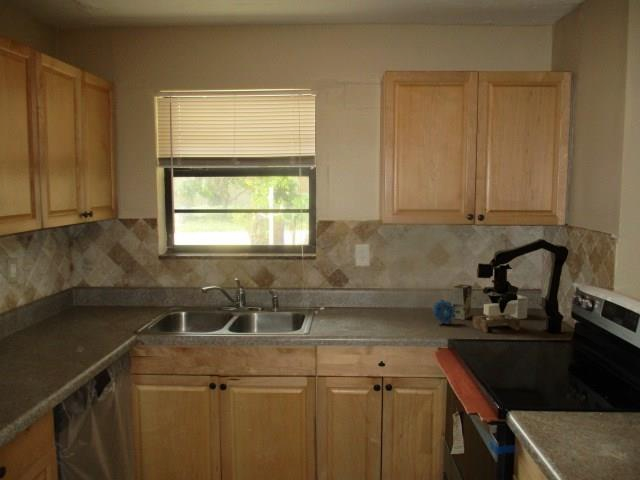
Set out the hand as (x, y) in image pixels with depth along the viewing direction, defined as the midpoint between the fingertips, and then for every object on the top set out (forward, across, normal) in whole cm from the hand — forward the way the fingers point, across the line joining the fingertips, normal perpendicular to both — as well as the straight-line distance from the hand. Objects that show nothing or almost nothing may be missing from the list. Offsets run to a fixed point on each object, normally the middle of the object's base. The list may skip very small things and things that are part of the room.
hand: (499, 312), depth 242 cm
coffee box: (+8, +24, +5) cm, 26 cm away
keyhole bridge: (+8, +2, 0) cm, 9 cm away
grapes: (+8, +14, +20) cm, 26 cm away
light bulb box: (+8, +19, -22) cm, 30 cm away
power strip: (+3, 0, 0) cm, 3 cm away
